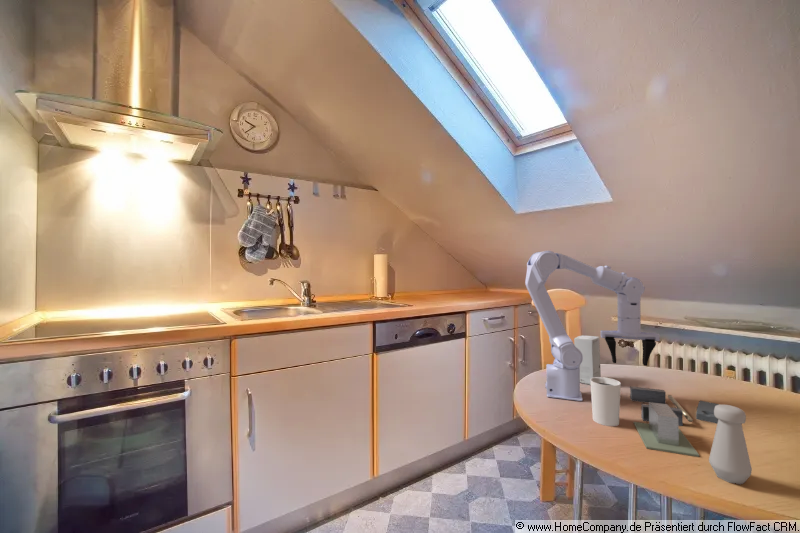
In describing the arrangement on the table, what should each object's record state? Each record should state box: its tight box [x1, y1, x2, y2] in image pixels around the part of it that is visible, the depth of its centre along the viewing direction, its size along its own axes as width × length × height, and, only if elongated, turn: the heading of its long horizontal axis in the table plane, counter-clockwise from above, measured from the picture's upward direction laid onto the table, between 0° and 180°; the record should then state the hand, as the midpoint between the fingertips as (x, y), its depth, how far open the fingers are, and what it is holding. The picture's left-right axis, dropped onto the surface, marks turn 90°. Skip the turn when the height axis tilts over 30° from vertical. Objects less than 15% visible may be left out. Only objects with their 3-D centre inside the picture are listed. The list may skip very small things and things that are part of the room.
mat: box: [633, 421, 700, 458], centre depth 80 cm, size 9×13×1 cm
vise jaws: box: [629, 386, 694, 427], centre depth 94 cm, size 10×16×4 cm, turn 157°
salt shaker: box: [708, 404, 752, 485], centre depth 65 cm, size 6×6×13 cm
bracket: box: [695, 400, 720, 425], centre depth 92 cm, size 4×11×2 cm, turn 137°
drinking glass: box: [590, 376, 622, 427], centre depth 89 cm, size 7×7×10 cm
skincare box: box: [573, 334, 602, 386], centre depth 119 cm, size 8×6×15 cm
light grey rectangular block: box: [648, 402, 680, 446], centre depth 80 cm, size 4×8×6 cm, turn 157°
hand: (629, 363), depth 104 cm, fingers open, 7 cm apart
